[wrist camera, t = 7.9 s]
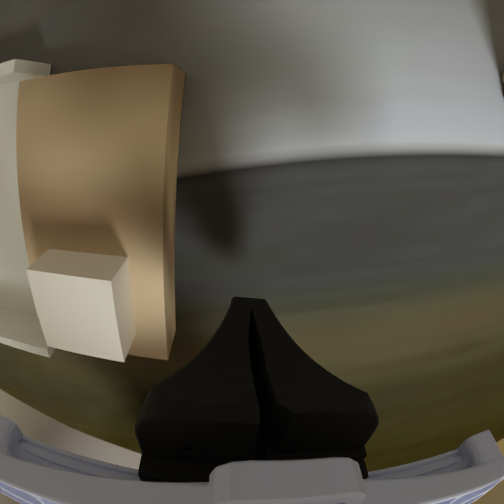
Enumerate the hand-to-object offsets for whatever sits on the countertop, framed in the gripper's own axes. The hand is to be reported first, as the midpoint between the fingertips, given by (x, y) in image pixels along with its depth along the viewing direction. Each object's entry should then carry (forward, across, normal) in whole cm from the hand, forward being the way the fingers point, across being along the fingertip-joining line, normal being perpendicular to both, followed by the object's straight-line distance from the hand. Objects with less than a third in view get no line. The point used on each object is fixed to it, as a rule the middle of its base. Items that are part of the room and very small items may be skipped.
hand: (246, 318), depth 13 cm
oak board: (+3, +7, -3) cm, 8 cm away
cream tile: (+1, +7, 0) cm, 7 cm away
